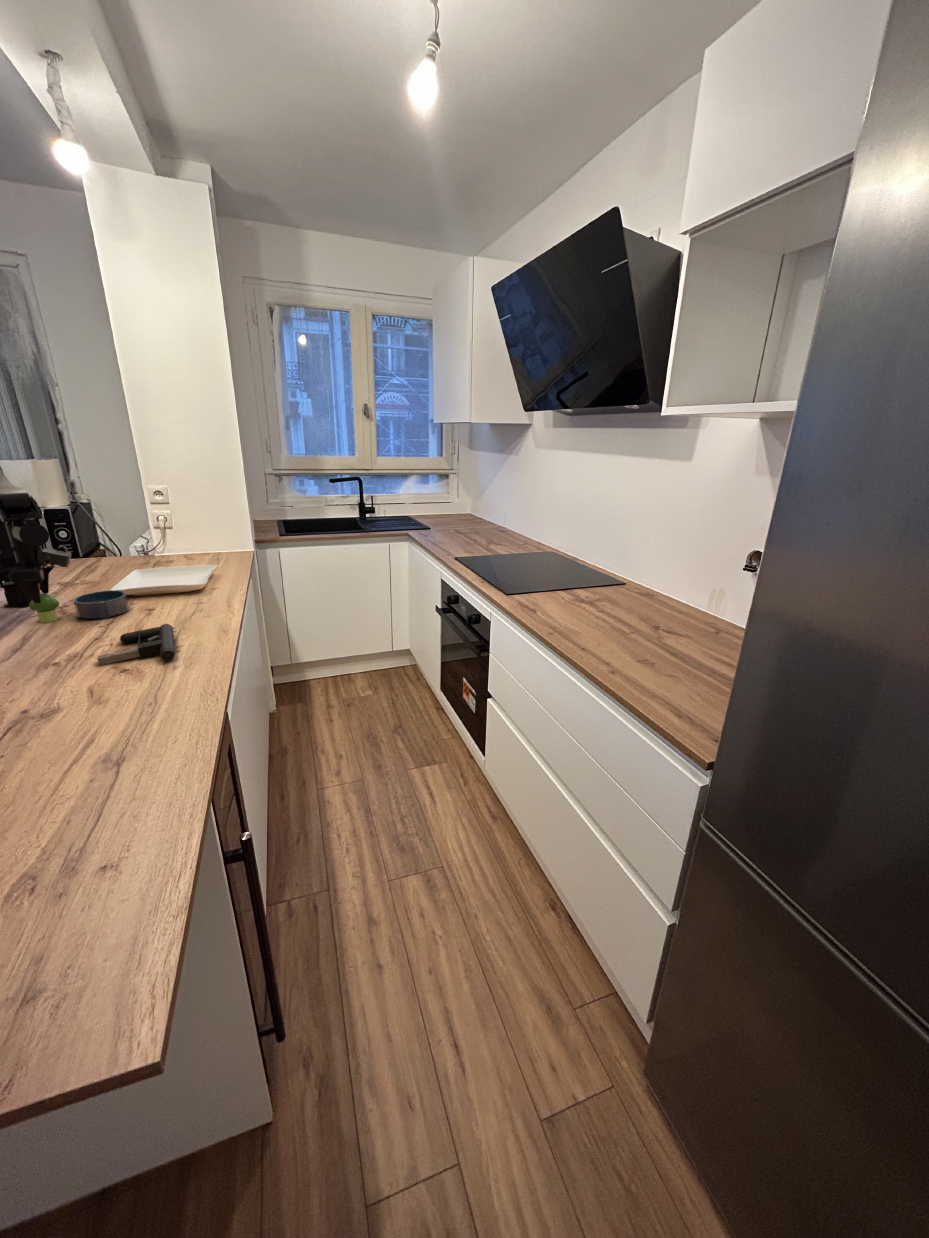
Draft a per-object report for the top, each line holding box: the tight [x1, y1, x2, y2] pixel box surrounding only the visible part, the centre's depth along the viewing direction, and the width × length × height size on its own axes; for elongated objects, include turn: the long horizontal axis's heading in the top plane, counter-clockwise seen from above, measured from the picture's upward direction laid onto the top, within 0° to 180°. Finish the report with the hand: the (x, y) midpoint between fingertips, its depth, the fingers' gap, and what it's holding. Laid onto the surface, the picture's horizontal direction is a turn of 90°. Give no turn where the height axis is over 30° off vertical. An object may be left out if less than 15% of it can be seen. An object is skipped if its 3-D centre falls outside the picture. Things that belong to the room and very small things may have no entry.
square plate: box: [109, 564, 218, 597], centre depth 166 cm, size 27×27×4 cm
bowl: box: [72, 590, 130, 620], centre depth 139 cm, size 12×12×5 cm
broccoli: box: [28, 593, 60, 624], centre depth 133 cm, size 6×5×8 cm
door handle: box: [97, 623, 180, 666], centre depth 115 cm, size 3×20×16 cm
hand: (42, 598), depth 132 cm, fingers open, 9 cm apart
